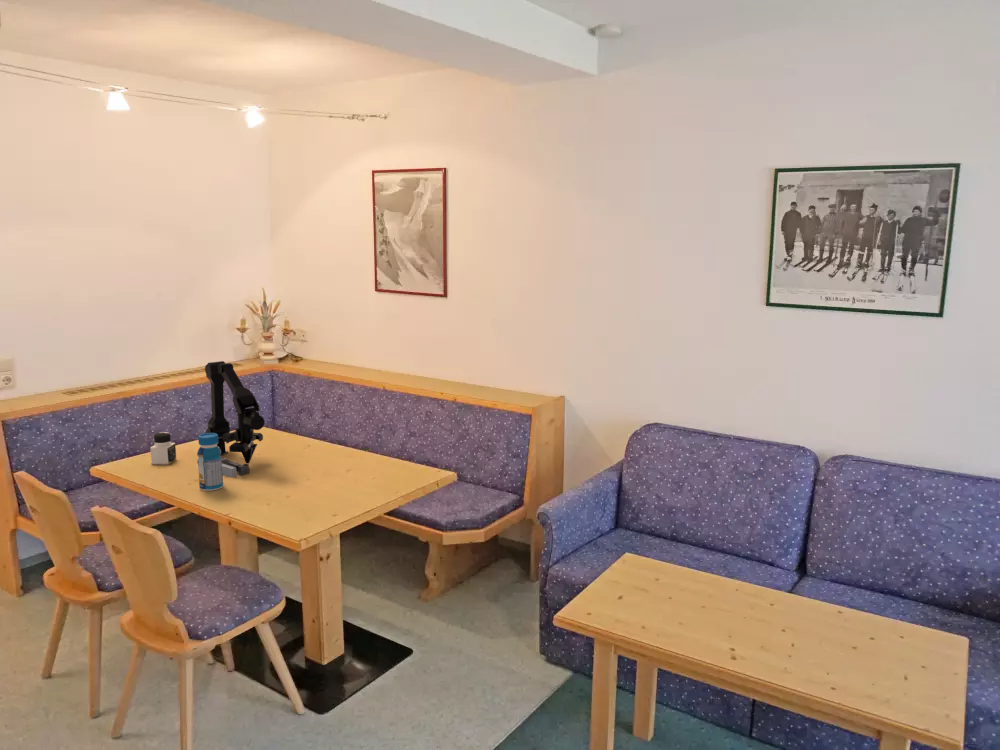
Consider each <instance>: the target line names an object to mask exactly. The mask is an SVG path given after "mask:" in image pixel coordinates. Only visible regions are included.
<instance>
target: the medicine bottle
mask: <svg viewBox="0 0 1000 750" xmlns="http://www.w3.org/2000/svg"><path fill="white" fill-rule="evenodd" d="M153 438H154V445H152V446H150V458H151V459H150V461H151V464H152V465H170V464H171V463H173V462H174V461H176V460H177V451H176V443H175V442H172V440H171V439H172V437H171V433H170V432H168V431H167V432H166V431H165V432H164V431H160V432H157V433H155V434H154V435H153Z"/></svg>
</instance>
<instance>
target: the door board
mask: <svg viewBox="0 0 1000 750" xmlns="http://www.w3.org/2000/svg"><path fill="white" fill-rule="evenodd" d="M237 475H238V474H237V472H236V468H235V467H232V466H229V465H226V464H222V476H226V477H229V478H235V477H237Z"/></svg>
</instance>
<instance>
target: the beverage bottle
mask: <svg viewBox="0 0 1000 750" xmlns="http://www.w3.org/2000/svg"><path fill="white" fill-rule="evenodd" d="M197 440H198V445H199V448H198V450H197V453H196V454H197V461H196V462H197V463H196V464H197V471H198V481H199V482H198V483H199V489H200V490H201V491H203V492H213V491H218V490H221V489H222V488H223V487H224V482H223V481H224V480H223V479H224V477H223V476H224V475H222V458H223V457H222V455H221V450H220V448H219V446H218V445H217V444H218V434H216V433H205V432H204V433H200V434H199V435H198V439H197Z"/></svg>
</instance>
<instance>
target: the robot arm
mask: <svg viewBox="0 0 1000 750" xmlns="http://www.w3.org/2000/svg"><path fill="white" fill-rule="evenodd" d="M204 372H205V375H206V378H207V379H208V381H209V382H210V400H211V401H210V403H211V417H210V418H209V420H208V422H207V428H206V430H205V432H204V434H205V433H216V434H218V444H217V445H218V446H219V448H220V450H221V456H222V455H226V454H229V452H231V453H241V455H242V457H243V460H244V462H245V464H250V462H251V460H252V457H253V454H254V452H255V450H256V448H257V446H258V443H255V442H254V441H256V440H257V441H258V442H262V441H263V440H264V435H263V433H261V432H254V431H260V430H261V429H262V428H263V427H264V425H265V418H264V417H263V416H261V415H260V412H259V411H260V405H259V403H258V401H257V398H256V397H255V395H254V394H253V393H252V391H251V390H250V389H248V388H246V387H245V386H244V385H243V383H242V381H241V380H240V378H239V376H238V374H237V372H236V371H235V369H234V365H233V364H232V363H231V362H225V361H224V360H222V361H221V360H220V361H213V362H208V363H207V364H205V366H204ZM225 382H226V384H227V387H228V388H229V390H230V392H231V393H232V399H231V400H232V403H233V406H234V408H235V413H237V415H236V416H237V428H236V429H235V430H234V431H231V428H230V422H229V420H227V418H226V417H225V404H224V403H225V399H224V397H225V396H224V395H225V393H224V383H225ZM231 442H233V443H232V444H230V445H229V451H227V450H226V444H229V443H231Z"/></svg>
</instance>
